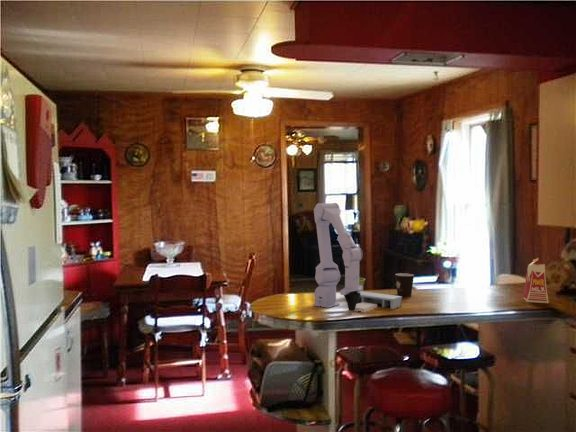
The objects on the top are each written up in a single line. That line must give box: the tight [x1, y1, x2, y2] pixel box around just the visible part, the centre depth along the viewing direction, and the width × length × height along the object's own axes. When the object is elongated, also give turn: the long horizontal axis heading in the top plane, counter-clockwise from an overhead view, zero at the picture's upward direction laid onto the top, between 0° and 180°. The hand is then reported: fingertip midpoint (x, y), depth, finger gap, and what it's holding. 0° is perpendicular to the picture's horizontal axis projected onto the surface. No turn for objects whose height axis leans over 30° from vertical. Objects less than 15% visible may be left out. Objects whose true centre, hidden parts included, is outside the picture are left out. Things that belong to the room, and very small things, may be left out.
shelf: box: [357, 290, 403, 310], centre depth 249 cm, size 8×20×4 cm, turn 52°
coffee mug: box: [393, 272, 415, 298], centre depth 272 cm, size 12×9×10 cm
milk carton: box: [523, 257, 549, 304], centre depth 261 cm, size 9×9×20 cm
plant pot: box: [357, 277, 366, 292], centre depth 266 cm, size 9×9×9 cm
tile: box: [353, 301, 378, 313], centre depth 240 cm, size 12×7×2 cm, turn 145°
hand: (351, 310), depth 233 cm, fingers closed
